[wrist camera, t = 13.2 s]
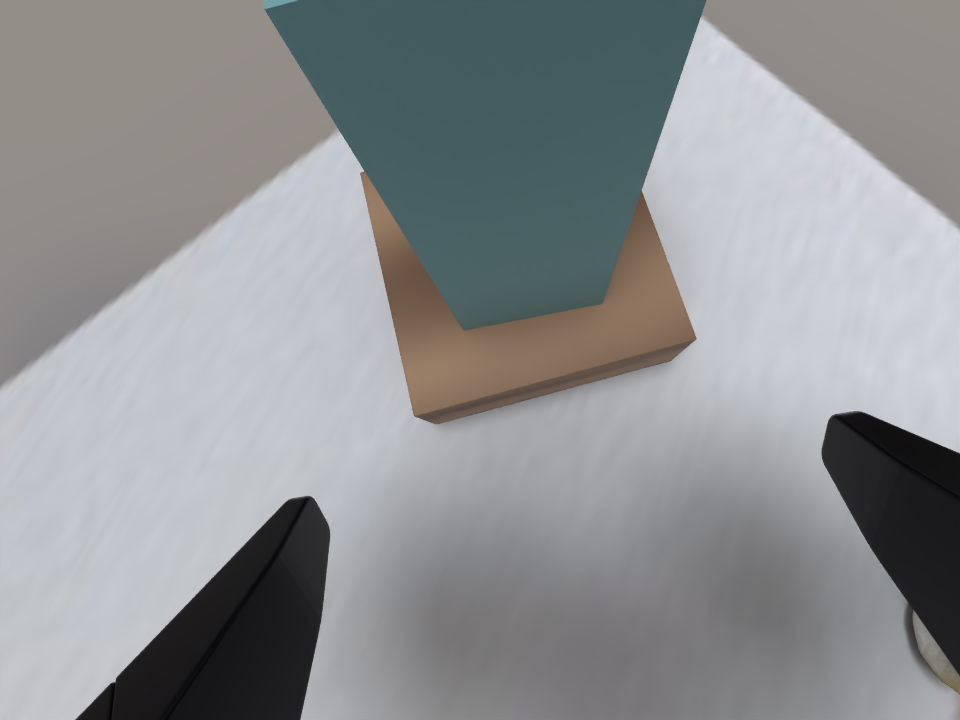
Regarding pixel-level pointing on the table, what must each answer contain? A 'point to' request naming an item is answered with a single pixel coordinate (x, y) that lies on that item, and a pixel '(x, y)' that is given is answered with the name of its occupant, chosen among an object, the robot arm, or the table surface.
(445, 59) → the teal pillar
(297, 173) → the table surface
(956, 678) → the pastry
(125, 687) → the robot arm
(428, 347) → the walnut block
